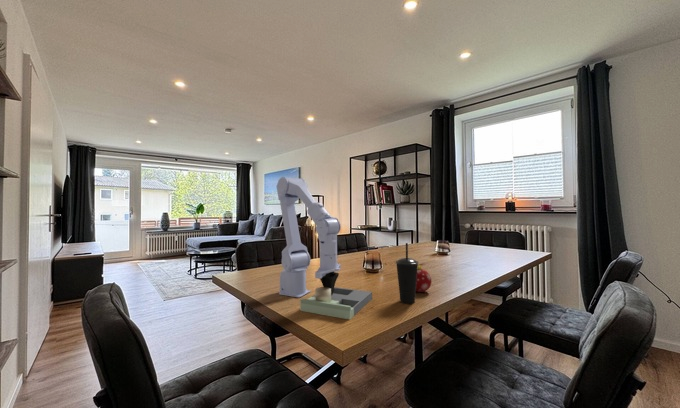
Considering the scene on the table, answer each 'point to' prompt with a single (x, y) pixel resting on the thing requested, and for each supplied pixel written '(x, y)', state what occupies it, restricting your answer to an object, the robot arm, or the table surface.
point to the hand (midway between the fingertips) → (328, 295)
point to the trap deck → (338, 303)
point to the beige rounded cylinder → (323, 294)
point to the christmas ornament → (422, 280)
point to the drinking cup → (407, 278)
